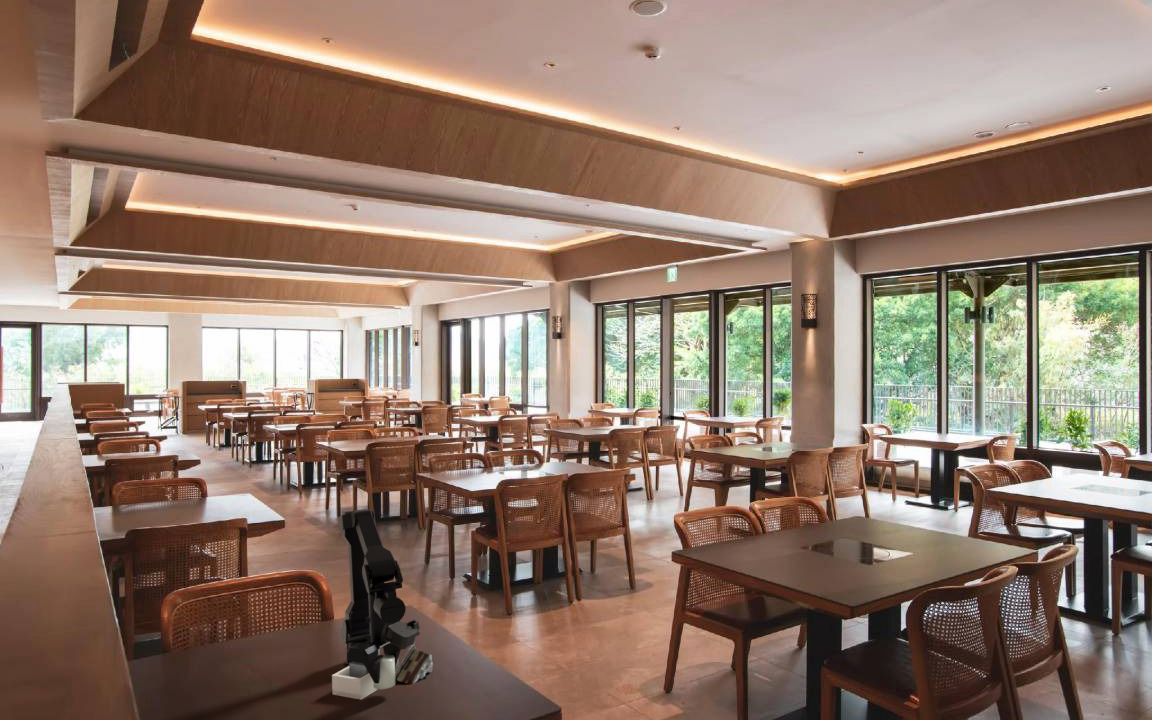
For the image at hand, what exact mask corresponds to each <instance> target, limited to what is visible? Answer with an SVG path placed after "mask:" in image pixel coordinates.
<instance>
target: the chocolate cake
mask: <svg viewBox="0 0 1152 720" xmlns="http://www.w3.org/2000/svg"><path fill="white" fill-rule="evenodd" d="M433 665H434V663H433V655H432V654H430V653H428V652H424V651H423V650H421V649H417V647H416V646H415V641H414V644H413V645H410V646H409V648H408V650H407V651H406V652H405V654H404V656H403V657H402V659H401V661H400V662H399V666H398V667H397V669H395V684H396V683H397V682H401V683H404V684H408V685H414V684H415V683H416V682H418V681H419V680H425V679H427V676H426V674H427V673H428V674H429V673H432V671H433Z"/></svg>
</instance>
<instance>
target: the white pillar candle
mask: <svg viewBox="0 0 1152 720" xmlns="http://www.w3.org/2000/svg"><path fill="white" fill-rule="evenodd" d="M383 655H384V654H383ZM395 685H396V683H395V657H394V656H393V655H384V657H383V659H382V660H381V661H380V679H379V683H378V684H376V683H374V681H373V687H374V688H376V689H378V690H386V689H390V688H393V687H394V686H395Z"/></svg>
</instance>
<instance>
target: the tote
mask: <svg viewBox="0 0 1152 720" xmlns="http://www.w3.org/2000/svg"><path fill="white" fill-rule="evenodd" d="M399 660H400V659H399V657H398V661H397V664H396V668H395V669H397V667H398V666H399V664H400V662H399ZM331 686H332V687H331V688H332V695H333V696H338V697H343V698H344V697H345V698H351V699H356V700H364V699H365V698H366V697H368V696H369V695H371V694H373V693H375V692H376V691H378V690H379V689H376V688H374V687H373V680H372V678H371V676H370V674H369V673H368V674H367V675H365V676H363V677H361V678H355V677H350V674H349V666H348V665H347V666H346V667H345V668H343V669H341V670H339V671H337V672H335V673H334V674H331Z"/></svg>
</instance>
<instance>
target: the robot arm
mask: <svg viewBox="0 0 1152 720" xmlns="http://www.w3.org/2000/svg"><path fill="white" fill-rule="evenodd" d="M337 520H338V529H339V530H340V532H341V534H340V535H341V537H342V538H343V540H344V541H345V542H346V543H347V545H348V565H349V582H350V583H349V584H350V585H349V586H350V587H349V588H350V602H349V604H348V606H347V608H346V610H345V612H344V615H345V616H344V617H345V618H344V620H343V622H342V626H341V628H340V629H341V630H340V631H341V640H342V641H343V643H344V644H345V645H346V652H345V653H346V660H345V661H343V662H342V664H343V665H344V666H347V667H348V666H349V663H350V662H358V663H363V664H364V666H365V667H366V669H367V671H368V672H369V674H370V676H371V678H372V680H373V681H374V683H376V684H378V683H379V679H380V661H381V660H382V659H383V657H384V655H393V656H394V657H395V668H396V664H397V661H398V658H399V657H400V654H401V651H403V650H406V649H407V648H408V647H411V645H413V644H414V645H415V642H414V641H415V640H416V637H419V636H420V633H421V632H420V623H419V621H418V620H417V619H411V620H410V621H408V622H407V621H405V622H401V620H402V619H403V617H404V616H405V614H406V611H407V610H406V608H407V607H406V604H405V602H404V600H402V599H401V598H400V596H398V595H397V590H398V589H403V582H404V579H403V574H402V571H401V568H400V564H399V563H398V560H396V559H395V557H394V555H393V553H392V552H391V551H390V550H389V549H387V548H385V546H384V545H383V543H382V540H381V539H382V538H381V536H380V534H379V531H378V528H377V524H376V515H375V510H372V509H367V508H363V509H356V510H348V511H343V512H342V515H340V516H338V519H337ZM394 579H395V580H394ZM381 648H382V650H383V654H381Z"/></svg>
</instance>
